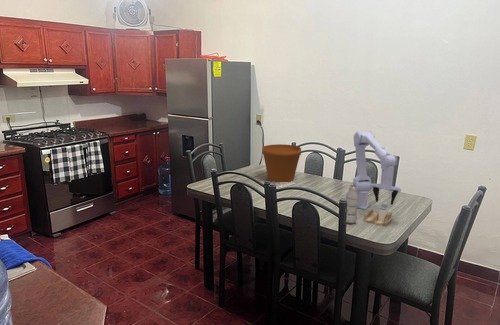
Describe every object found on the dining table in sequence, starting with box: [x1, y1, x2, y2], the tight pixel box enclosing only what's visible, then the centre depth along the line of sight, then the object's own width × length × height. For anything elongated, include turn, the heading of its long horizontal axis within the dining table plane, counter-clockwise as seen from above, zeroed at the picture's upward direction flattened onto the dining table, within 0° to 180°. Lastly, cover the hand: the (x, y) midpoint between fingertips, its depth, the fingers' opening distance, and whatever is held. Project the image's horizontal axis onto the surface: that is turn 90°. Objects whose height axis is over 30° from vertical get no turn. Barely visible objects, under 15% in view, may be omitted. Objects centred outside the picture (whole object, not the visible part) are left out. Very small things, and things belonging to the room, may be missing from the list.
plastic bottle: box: [345, 184, 359, 224], centre depth 187 cm, size 6×7×20 cm
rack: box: [362, 208, 393, 227], centre depth 193 cm, size 12×13×3 cm
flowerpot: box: [261, 143, 302, 183], centre depth 264 cm, size 28×28×24 cm
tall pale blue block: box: [378, 203, 390, 222], centre depth 191 cm, size 3×7×7 cm, turn 146°
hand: (384, 202), depth 191 cm, fingers open, 7 cm apart
